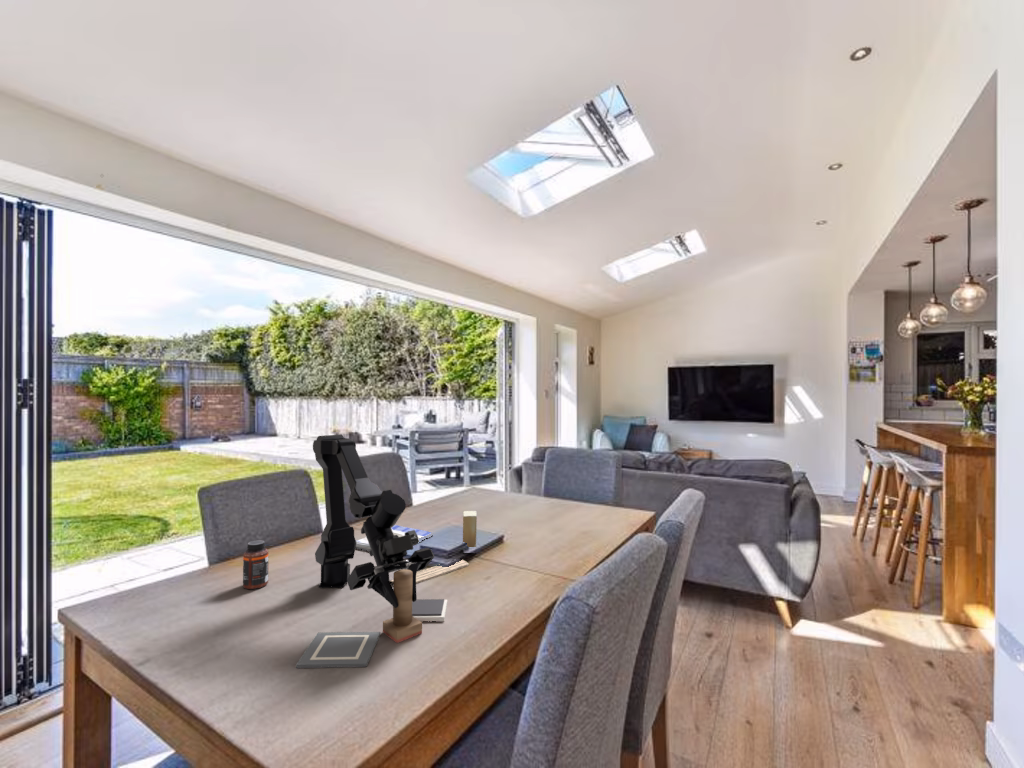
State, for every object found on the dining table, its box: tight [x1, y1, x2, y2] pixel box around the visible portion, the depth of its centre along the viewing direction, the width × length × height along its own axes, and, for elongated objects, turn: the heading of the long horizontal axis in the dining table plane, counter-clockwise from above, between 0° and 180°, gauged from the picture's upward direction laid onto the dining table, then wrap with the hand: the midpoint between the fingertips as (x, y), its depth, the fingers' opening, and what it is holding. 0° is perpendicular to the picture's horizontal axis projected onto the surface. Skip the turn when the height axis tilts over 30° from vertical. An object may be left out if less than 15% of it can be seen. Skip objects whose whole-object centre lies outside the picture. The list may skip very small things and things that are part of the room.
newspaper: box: [390, 559, 470, 585], centre depth 139 cm, size 24×7×2 cm, turn 137°
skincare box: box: [462, 510, 478, 548], centre depth 158 cm, size 6×4×12 cm
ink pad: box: [412, 598, 448, 623], centre depth 115 cm, size 9×9×1 cm
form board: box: [295, 631, 381, 669], centre depth 98 cm, size 13×12×1 cm
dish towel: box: [355, 524, 432, 552], centre depth 166 cm, size 17×24×3 cm
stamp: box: [382, 569, 423, 644], centre depth 105 cm, size 6×6×13 cm
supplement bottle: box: [242, 539, 270, 590], centre depth 129 cm, size 6×6×11 cm
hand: (406, 603), depth 104 cm, fingers closed on stamp, 4 cm apart
